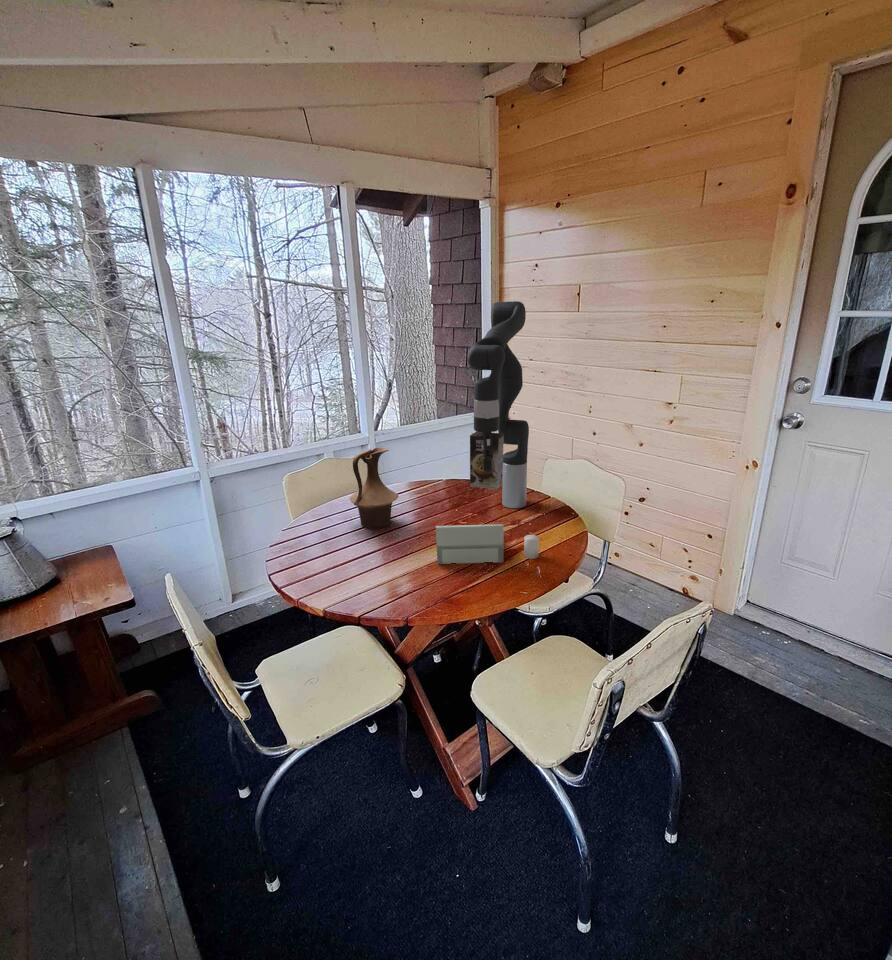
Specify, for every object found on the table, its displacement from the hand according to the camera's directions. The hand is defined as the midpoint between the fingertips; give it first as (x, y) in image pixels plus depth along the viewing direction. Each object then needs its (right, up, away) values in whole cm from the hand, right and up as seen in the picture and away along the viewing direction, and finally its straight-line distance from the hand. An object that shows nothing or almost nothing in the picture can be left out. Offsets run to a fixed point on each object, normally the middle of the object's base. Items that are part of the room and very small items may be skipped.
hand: (486, 467), depth 157 cm
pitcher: (-38, -20, +29) cm, 52 cm away
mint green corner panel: (-5, -27, +5) cm, 28 cm away
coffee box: (0, -6, +2) cm, 6 cm away
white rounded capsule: (+14, -27, +2) cm, 31 cm away
